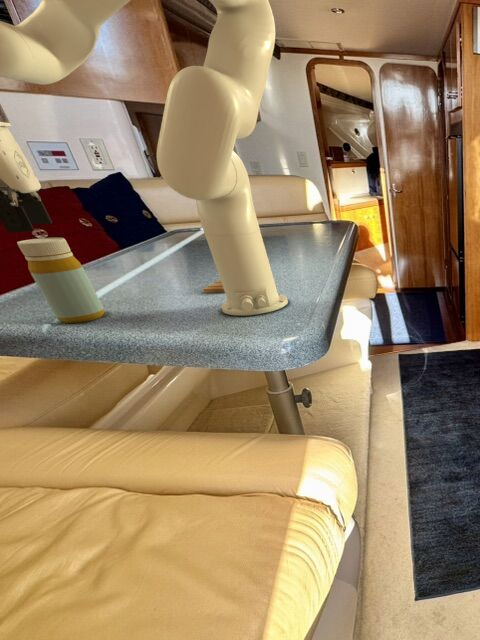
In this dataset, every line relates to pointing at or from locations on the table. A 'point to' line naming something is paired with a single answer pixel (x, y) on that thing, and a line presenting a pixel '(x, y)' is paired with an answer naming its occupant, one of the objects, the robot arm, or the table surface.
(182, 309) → the table surface
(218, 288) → the trivet
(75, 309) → the bottle
